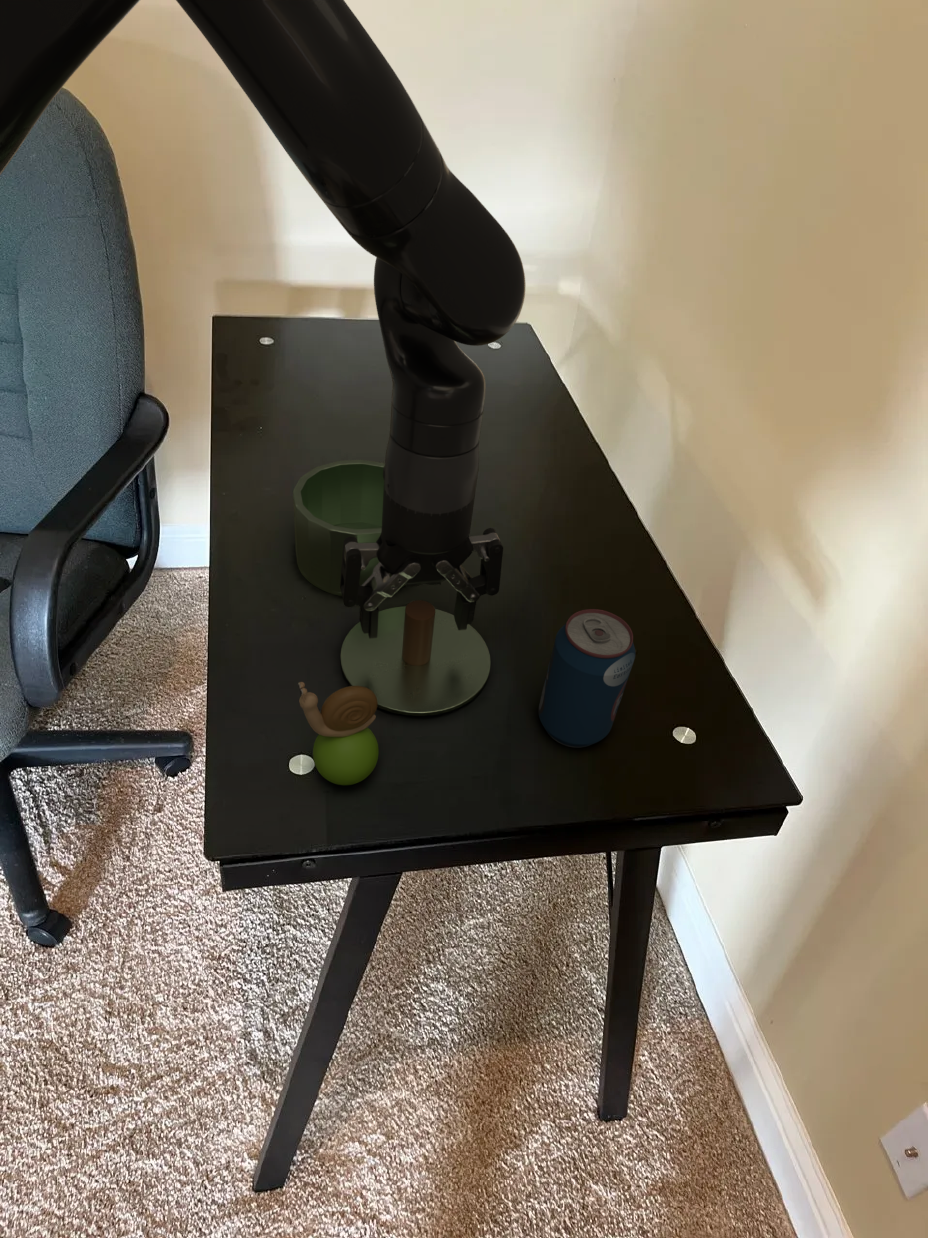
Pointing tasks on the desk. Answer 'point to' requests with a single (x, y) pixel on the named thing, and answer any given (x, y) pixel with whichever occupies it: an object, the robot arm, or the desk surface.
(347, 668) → the pot lid
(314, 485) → the pot
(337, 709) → the snail figurine
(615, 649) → the soda can
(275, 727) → the desk surface
